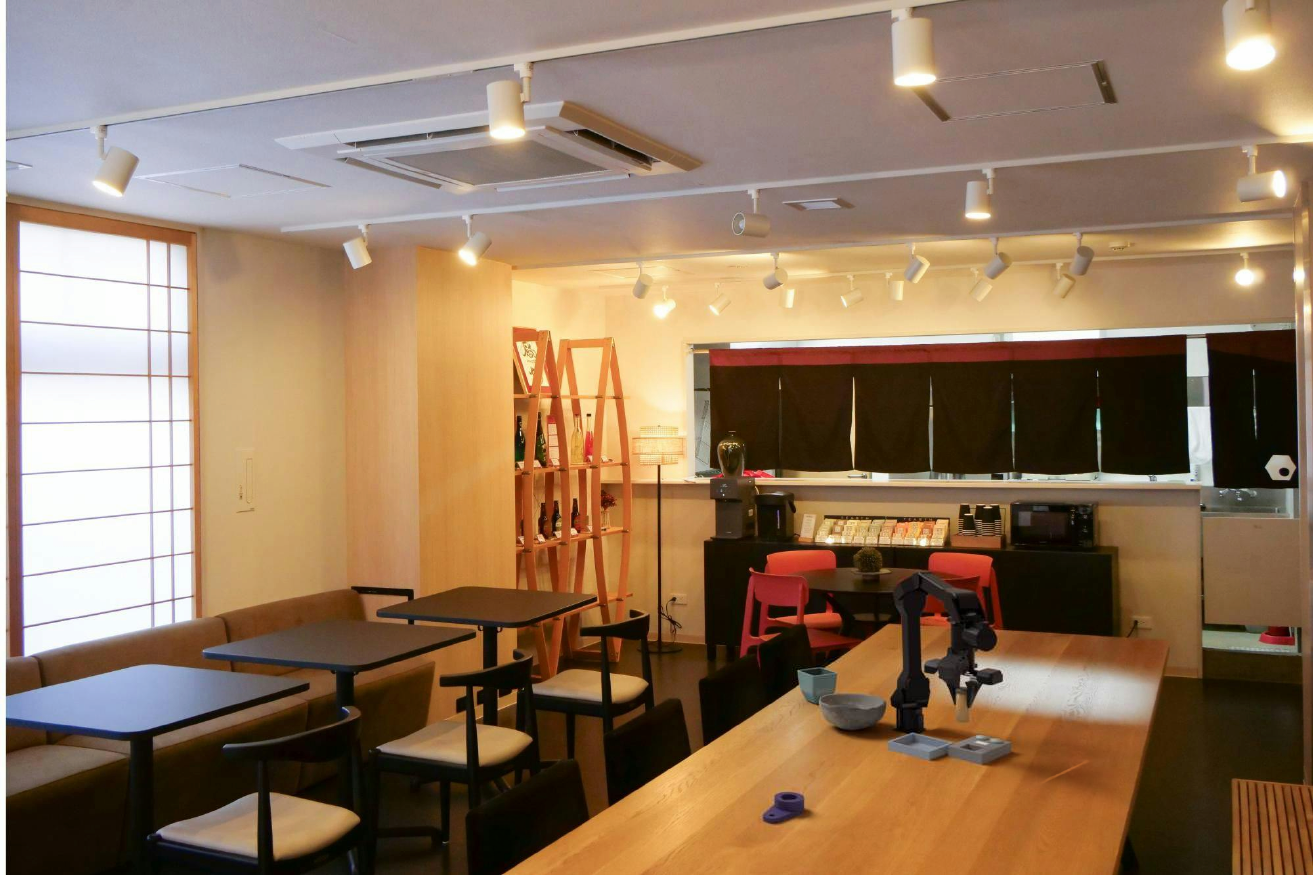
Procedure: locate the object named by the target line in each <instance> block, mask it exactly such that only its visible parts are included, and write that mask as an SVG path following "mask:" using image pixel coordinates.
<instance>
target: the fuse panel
mask: <svg viewBox="0 0 1313 875" xmlns="http://www.w3.org/2000/svg"><path fill="white" fill-rule="evenodd" d="M1011 753H1012V742H1011V741H1007V740H1003V739H1000V738H994V737H990V736H988V735H982V734H976V735H974V736H971V737H968V738H966V739H963V740H960V741H958V742H956V743H954V744H952V745H950V746H948V753H947V756H948V757H949V758H952V759H953V758H954V759H957V760H961V761H965V762H969V763H973V764H977V765H981V766H982V765H984V764H986V763H989V762H992V761H993V760H997V759H999V758H1001V757H1004V756H1006V755H1008V754H1011Z"/></svg>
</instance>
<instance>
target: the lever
mask: <svg viewBox="0 0 1313 875" xmlns="http://www.w3.org/2000/svg"><path fill="white" fill-rule="evenodd" d="M773 801H774V804H773V805H771V807H769V808H768V809H767V810H765V812H763V814H762V822H763V823H767V824H779V823H782V822H784V821H787V820H790V819H793V818H795V817H798V816H799V815H800V816H801V815H803V814H804V813H805V795H803V794H801V793H799V792H794V791H783V792H782V791H781V792H778V793H775V794H774V799H773Z"/></svg>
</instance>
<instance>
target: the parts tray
mask: <svg viewBox="0 0 1313 875" xmlns="http://www.w3.org/2000/svg"><path fill="white" fill-rule="evenodd" d="M952 744H955V743H954V742H952V741H949V740H944V739H941V738H936V737H932V736H928V735H923V734H919V733H907V734H905V735H903V736H902V735H901V736H899V737H897V738H894V739H891V740H888V741H887V750H888V751H893V752H895V753H899V754H903V755H908V756H911V757H914V758H919V759H923V760H926V761H932V760H934V759H937V758H940V757H942V756H945V755H946V754H947V755H948V746H950V745H952Z"/></svg>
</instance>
